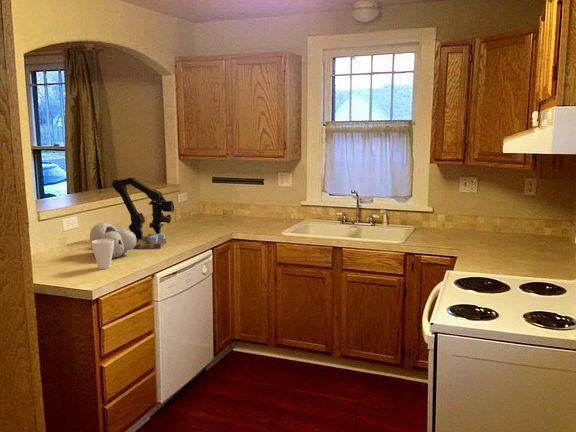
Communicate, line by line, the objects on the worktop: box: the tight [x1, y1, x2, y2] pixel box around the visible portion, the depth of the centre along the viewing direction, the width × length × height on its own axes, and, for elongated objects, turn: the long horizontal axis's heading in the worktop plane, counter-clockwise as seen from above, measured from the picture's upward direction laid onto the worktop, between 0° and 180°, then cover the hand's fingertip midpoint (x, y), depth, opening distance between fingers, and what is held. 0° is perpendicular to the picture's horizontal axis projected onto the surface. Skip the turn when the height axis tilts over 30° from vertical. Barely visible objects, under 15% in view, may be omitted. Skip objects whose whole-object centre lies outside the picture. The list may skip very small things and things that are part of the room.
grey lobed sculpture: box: [89, 221, 138, 259], centre depth 286 cm, size 20×25×22 cm
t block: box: [146, 233, 166, 244], centre depth 319 cm, size 10×10×4 cm
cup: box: [91, 239, 114, 270], centre depth 259 cm, size 10×10×14 cm
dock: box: [133, 238, 167, 250], centre depth 308 cm, size 15×15×2 cm
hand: (158, 236), depth 328 cm, fingers closed
